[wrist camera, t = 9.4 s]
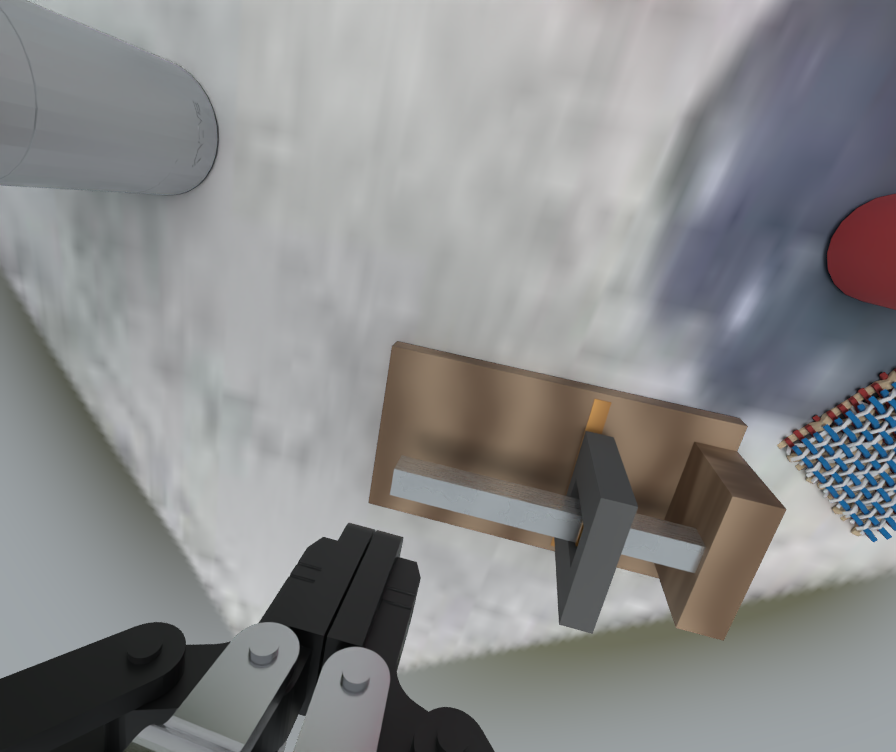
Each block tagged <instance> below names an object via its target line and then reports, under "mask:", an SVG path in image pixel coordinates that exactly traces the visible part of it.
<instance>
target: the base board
mask: <svg viewBox="0 0 896 752" xmlns="http://www.w3.org/2000/svg"><path fill="white" fill-rule="evenodd" d="M747 427H748V426H747V425H746V424H745V423H744V422H743V421H742V420H741V419H740V418H736V417H732V416H727V415H723V414H718V413H714V412H709V411H705V410H701V409H696V408H692V407H687V406H683V405H678V404H674V403H669V402H665V401H661V400H656V399H652V398H647V397H643V396H638V395H634V394H629V393H625V392H621V391H616V390H612V389H607V388H603V387H598V386H594V385H589V384H585V383H581V382H576V381H572V380H567V379H563V378H558V377H554V376H549V375H545V374H541V373H536V372H532V371H527V370H523V369H518V368H514V367H509V366H505V365H500V364H496V363H492V362H487V361H483V360H478V359H474V358H469V357H465V356H460V355H456V354H452V353H447V352H443V351H438V350H434V349H429V348H425V347H420V346H416V345H412V344H407V343H403V342H398V341H397V342H396V343H395V344H394V345H393V346H392V350H391V357H390V363H389V370H388V377H387V383H386V390H385V397H384V403H383V410H382V417H381V423H380V430H379V436H378V443H377V450H376V456H375V463H374V470H373V476H372V483H371V490H370V496H369V503H371V504H374V505H378V506H382V507H386V508H390V509H394V510H398V511H401V512H405V513H409V514H413V515H417V516H421V517H425V518H428V519H432V520H436V521H440V522H444V523H448V524H451V525H455V526H459V527H463V528H467V529H471V530H475V531H478V532H482V533H486V534H490V535H494V536H498V537H502V538H505V539H509V540H513V541H517V542H521V543H525V544H528V545H532V546H536V547H540V548H544V549H548V550H552V551H555V542H554V537H552V536H548V535H544V534H540V533H536V532H532V531H528V530H525V529H521V528H517V527H513V526H509V525H505V524H501V523H497V522H493V521H490V520H486V519H482V518H478V517H474V516H470V515H466V514H462V513H458V512H455V511H451V510H447V509H443V508H439V507H435V506H431V505H427V504H423V503H419V502H416V501H412V500H408V499H404V498H400V497H396V496H392V495H390V491H391V485H392V479H393V473H394V468H395V467H396V465H397V463H398V461H399V459H400V458H401V456H402V455H403V456H407V457H411V458H415V459H419V460H423V461H427V462H431V463H435V464H439V465H443V466H447V467H451V468H455V469H459V470H463V471H468V472H472V473H476V474H480V475H484V476H488V477H492V478H496V479H500V480H504V481H508V482H512V483H516V484H520V485H524V486H528V487H532V488H536V489H540V490H544V491H548V492H552V493H556V494H560V495H564V496H566V494H567V491H568V487H569V484H570V481H571V477H572V474H573V471H574V467H575V464H576V461H577V457H578V454H579V451H580V448H581V444H582V441H583V438H584V434H585V431H589V432H593V433H598V434H602V435H606V436H611V437H614V439H615V442H616V445H617V448H618V451H619V453H620V456H621V459H622V462H623V465H624V468H625V471H626V473H627V476H628V479H629V482H630V485H631V488H632V491H633V493H634V496H635V499H636V502H637V505H638V509H637V512H636V513H637V514H641V515H645V516H649V517H653V518H657V519H661V520H665V521H669V522H673V523H677V524H681V525H685V526H689V527H693V528H696V529H697V531H698V533H699V535H700V537H701V539H702V541H703V543H704V544H705V546H706V548H705V551H704V553H703V555H702V558H701V560H700V562H699V565H698V567H697V569H696V572H695V573H692V572H688V571H684V570H680V569H676V568H673V567H669V566H665V565H661V564H657V563H653V562H649V561H645V560H641V559H638V558H634V557H630V556H626V555H622V554H621V556H620V559H619V561H618V564H617V568H621V569H625V570H629V571H632V572H636V573H640V574H644V575H648V576H652V577H656V578H659V579H660V582H661V585H662V588H663V591H664V594H665V597H666V600H667V603H668V606H669V609H670V612H671V615H672V618H673V621H674V623H675V626H676V628H678V629H682V630H686V631H690V632H693V633H697V634H701V635H705V636H709V637H712V638H716V639H720V640H724V639H725V636H726V635H727V632H728V630H729V628H730V626H731V624H732V622H733V620H734V618H735V616H736V614H737V612H738V609H739V607H740V605H741V603H742V601H743V599H744V597H745V595H746V593H747V591H748V589H749V586H750V584H751V582H752V580H753V578H754V576H755V574H756V572H757V570H758V568H759V566H760V564H761V561H762V559H763V557H764V555H765V553H766V551H767V549H768V547H769V545H770V543H771V541H772V538H773V536H774V534H775V532H776V530H777V528H778V526H779V524H780V522H781V520H782V518H783V515H784V513H785V511H786V508H785V507H784V506H783V505H782V504H781V502H780V501H779V500H778V499H777V498H776V497H775V495H774V494H773V493H772V492H771V491H770V489H769V488H768V487H767V486H766V485H765V484H764V482H763V481H762V480H761V479H760V478H759V477H758V475H757V474H756V473H755V472H754V471H753V469H752V468H751V467H750V466H749V465H748V464H747V462H746V461H745V460H744V459H743V458H742V457H741V455H740V454H739V453H738V452H737V451H738V448H739V446H740V443H741V441H742V439H743V436H744V434H745V432H746V429H747Z"/></svg>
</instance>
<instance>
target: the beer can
mask: <svg viewBox="0 0 896 752" xmlns="http://www.w3.org/2000/svg"><path fill="white" fill-rule="evenodd" d="M827 263H828V271H829V273H830V275H831V278H832V280H833V282H834V284H835V285H836V286H837V287H838V288H839V289H840V290H841V291H842V292H844V293H845V294H846V295H848V296H851V297H853V298H855V299H858V300H860V301H864V302H868V303H871V304H875V305H879V306H883V307H887V308H890V309H894V310H896V194H892V195H888V196H883V197H879V198H875V199H873V200H872V201H870V202H868V203H866V204H864V205H862V206H860V207H858V208H857V209H856V210H855V211H853V212H852V213H851V214H850V215H849V216H848V217H847V218H846V219H845V220H843V221H842V223H841V224H840V226H839V227H838V229H837V230H836V232H835V233H834V235H833V236H832V239H831V242H830V245H829V249H828V252H827Z"/></svg>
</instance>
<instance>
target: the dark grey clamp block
mask: <svg viewBox="0 0 896 752" xmlns="http://www.w3.org/2000/svg"><path fill="white" fill-rule="evenodd" d="M566 496H568V497H572V498H576V499H579V500H580V506H581V513H582V519H583V526H584V528H583V531H582V534H581V537H580V540H579V543H578V547H577V546H576V545H575V542H571V541H567V540H564V539H560V538H556V537H554V542H555V560H556V577H557V595H558V613H559V625H563V626H566V627H570V628H574V629H577V630H581V631H585V632H588V633H593V630H594V628H595V625H596V622H597V619H598V617H599V614H600V611H601V608H602V606H603V603H604V600H605V597H606V595H607V592H608V589H609V586H610V584H611V581H612V578H613V575H614V572H615V570H616V567H617V564H618V561H619V559H620V556H621V553H622V550H623V548H624V545H625V542H626V539H627V537H628V534H629V531H630V528H631V526H632V523H633V520H634V517H635V514H636V512H637V509H638V505H637V502H636V499H635V496H634V493H633V491H632V488H631V485H630V482H629V479H628V476H627V473H626V471H625V468H624V465H623V462H622V459H621V456H620V453H619V451H618V448H617V445H616V442H615V439H614V437H611V436H606V435H602V434H598V433H593V432H589V431H585V434H584V438H583V441H582V444H581V448H580V451H579V454H578V457H577V461H576V464H575V467H574V471H573V474H572V477H571V481H570V484H569V487H568V491H567V494H566Z"/></svg>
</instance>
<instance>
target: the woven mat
mask: <svg viewBox="0 0 896 752" xmlns="http://www.w3.org/2000/svg"><path fill="white" fill-rule="evenodd" d="M879 376H880V381H875V382H874V383H872V384H871V385H869V386H868V387H866V388H865V389H864V388H862V389H859V390H858V393H857V394H855V395H853V396H852V397H850V398H849V399H847V400H846V401H844V402H842V403H841V404H839V405H838V406H836V407H835V408H833V409H831V410H829V411H828V412H826V413H825V414H823V415H822V417H821V419H820V417H818V416H817V415H816V416H814V417H813V420H814V421H815V422H811V423H809V424H808V425H806V426H805V427H803V428H801V429H800V430H795V431H794V432H793V434H792V435H790V436H788V437H787V438H785V439H784V440H783V441H782V442H780V443H779V444H778V445H777V446H778V447H779V448H780V449H781V448H783V447H785V446H787V445H788V448H787V452H786V453H787V458H788V460H789V462H798V461H800V463H799V464H798V465H796V466H795V467H796V468H797V469H798V470H802V469H804V468H806V467H807V468H808V469H806V472H807V473H808V474H806V476H807V478H806V481H808V482H810V483H812V484H814V483H815V482H816V481H817V480H819V482H818V484H817V486H818V487H819V489H821V490H822V489H824V491H823V492H824V497H823V498H827V497H828V498H829V499H830V500H829V502H830V503H833V502H837V503H838V504H837V505H836V506H834V507H833V508H832V510H833V511H834V513H835V514H843V515H844V516H842V517H841V519H842V521H845V520H847V519H849V518H852V520H851V521H849V522H851V523H852V524H854V522H855V523H856V525H855V527H854V528H853V529H852V532H851V533H852V534H854V535H856V536H861V535H864V533H865V534H866V535H867V536H868V538H870V539H871V541H873V542H875V541H877V538H876V537H875V535H874V534H873V533H872V531H871V530H876V529H877V531H879V532H880V533H881V534H882V535H883V536H884V537H885V538H886V539H887V540H888V539H889V538H891V537H892V536H891V535H890V534H889V533H888V532H887V531H886V530H885V529H884V527H883V525H884V524H885V522H886V523H887V524H888V525H889V526H890V527H892V529H893V530H895V531H896V522H895V521H894V520H893V519H892V518H896V484H895V483H894V481H896V440H893V439H892V438H891V437H890V436H889V435H890V434H892V433H893V436H894V438H895V439H896V401H895V400H894V398H895V397H896V369H894V370H893V371H892V372H890V374H889V376H888V375H887V374H886V373H885V372H883V373H882V374H880V375H879ZM888 389H890V391H888ZM875 392H876V393H877V394H878V395H879V396H880V397H878V398H877V399H876V398H875V397H874V396H872V397H871V396H870V395H872V394H873V393H875ZM864 399H865V400H866V401H867V402H868V404H867V403H864V402H862V400H864ZM884 404H886V407H887V409H888V410H887V411H885V409H884V407H883V405H884ZM849 408H850V410H851V411H852V412H851V411H850V410H848V409H849ZM854 408H855V409H854ZM856 412H857V413H856ZM841 413H842V414H843V415H844V416H845V417H846V418H845V419H843V420H841V418H840V417H839V418H838V417H837V416H838V415H839V414H841ZM875 413H877V414H878V415H877V416H874V414H875ZM832 421H833V422H834V423H835V425H833V426H832V427H830V424H831V423H832ZM862 422H865V423H864V424H862ZM882 422H884V423H883V424H882V425H881V426H880V424H881V423H882ZM849 425H853V427H854V428H855V429H854V430H850V429H849V428H848V426H849ZM871 429H873V430H871ZM869 430H870V431H869ZM820 431H823V432H821V433H818V432H820ZM840 431H841V432H842V433H843V436H842V437H841V438H839V437H838V435H837V433H838V432H840ZM809 433H810V434H811V435H812V437H813V438H811V439H809V440H808V439H807V438H805V437H804V436H805V435H807V434H809ZM872 434H873V435H872ZM860 435H861V436H860ZM859 436H860V437H859ZM857 437H859V439H858V440H857ZM798 439H799V440H800V441H801V443H798V444H794V443H793V442H794V441H796V440H798ZM830 439H831V440H832V441H833V442H832V443H828V442H829V440H830ZM863 441H865V442H863ZM849 442H851V443H850V444H847V443H849ZM883 442H884V443H885V444H884V445H882V443H883ZM827 443H828V444H827ZM881 445H882V446H881ZM798 447H799V448H798ZM817 447H821V449H820V450H819V451H817V449H816V448H817ZM849 447H851V448H849ZM791 450H792V451H793V452H794V453H792V454H790V452H791ZM869 451H872V452H870V453H869ZM889 451H890V452H889ZM887 452H889V454H888V455H887ZM809 453H811V454H812V455H810V456H808V455H809ZM860 455H862V456H863V457H862V458H860V459H858V458H859V457H860ZM878 457H880V459H877V458H878ZM814 463H816V464H815V465H814V466H813V464H814ZM847 463H852V464H850V465H848V466H846V464H847ZM866 464H867V465H866ZM865 465H866V467H864V466H865ZM838 468H840V469H841V470H839V471H838V472H837V473H836V471H837V469H838ZM870 468H871V469H872V470H870ZM856 470H858V471H857V472H854V471H856ZM890 471H891V472H892V473H890V474H889V472H890ZM827 475H829V476H830V478H827V479H825V478H824V477H823V476H827ZM876 480H878V481H876ZM867 483H869V486H867V487H865V486H866V484H867ZM885 485H887V486H888V487H887V488H881V487H883V486H885ZM857 490H859V491H858V492H856V493H855V494H854V493H853V491H857ZM874 491H875V492H876V493H875V494H874V496H873V497H872V495H871V493H872V492H874ZM846 495H847V496H848V497H847V498H846V499H844V497H845V496H846ZM864 497H865V498H866V499H867V500H861V499H863V498H864ZM860 500H861V501H860ZM884 507H887V508H886V509H883V508H884ZM871 508H873V509H872V510H871V511H869V509H871ZM876 511H877V512H878V513H876ZM860 513H863V514H864V515H860V516H857V515H858V514H860ZM875 513H876V514H875ZM892 514H893V515H892ZM864 518H867V519H865V520H863V521H861V519H864ZM879 521H880V522H879ZM871 525H873V526H871Z"/></svg>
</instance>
